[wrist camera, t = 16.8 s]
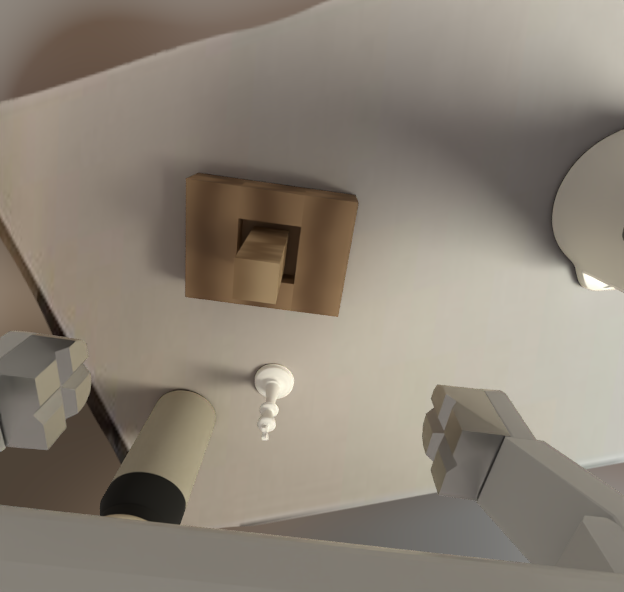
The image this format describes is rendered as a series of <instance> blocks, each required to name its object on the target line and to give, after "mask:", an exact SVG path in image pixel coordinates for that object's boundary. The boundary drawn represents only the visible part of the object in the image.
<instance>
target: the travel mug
mask: <svg viewBox="0 0 624 592" xmlns="http://www.w3.org/2000/svg"><path fill="white" fill-rule="evenodd" d="M215 422H216V414H215V411H214V409H213V407H212V405H211V404H210V403H209V402H208V401H207V400H206V399H205V398H204V397H202V396H200V395H199V394H196V393H194V392H190V391H184V390H178V391H172V392H169V393H167V394H165V395H163V396H162V397H161V398H160V399H159V400H158V402H157V403H156V405H155V407H154V409H153V410H152V412H151V414H150V416H149V417H148V419H147V421H146V423H145V424H144V426H143V428H142V430H141V431H140V433H139V435H138V437H137V438H136V440H135V442H134V444H133V445H132V447H131V449H130V451H129V452H128V454H127V456H126V458H125V459H124V461H123V463H122V465H121V466H120V468H119V470H118V472H117V473H116V475H115V477H114V479H113V481H112V482H111V484H110V486H109V487H108V489H107V491H106V493H105V494H104V496H103V498H102V500H101V503H100V516H105V517H114V518H123V519H132V520H141V521H150V522H159V523H168V524H178V525H180V523H181V520H182V517H183V514H184V512H185V509H186V506H187V503H188V500H189V497H190V494H191V491H192V488H193V486H194V483H195V480H196V477H197V474H198V471H199V468H200V465H201V462H202V460H203V457H204V454H205V451H206V448H207V445H208V442H209V439H210V436H211V434H212V431H213V428H214V425H215Z"/></svg>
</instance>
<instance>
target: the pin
mask: <svg viewBox="0 0 624 592" xmlns="http://www.w3.org/2000/svg"><path fill="white" fill-rule="evenodd" d="M288 236H289V231H287V230H280V229H272V228H265V227H258V226H254V227H253V229H252V230H251V232H250V233H249V235H248V237H247V238H246V240H245V242H244V243H243V245H242V247H241V248H240V250H239V251H238V253H237V255H236V256H235V261H234V278H233V296H232V299H240V300H247V301H255V302H263V303H270V304H276V300H277V296H278V292H279V288H280V284H281V280H282V275H283V271H284V267H285V263H286V254H287V245H288Z"/></svg>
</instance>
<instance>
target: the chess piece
mask: <svg viewBox="0 0 624 592" xmlns="http://www.w3.org/2000/svg"><path fill="white" fill-rule="evenodd" d="M293 385H294V378H293V375H292V373H291V372H290V371H289V370H288V369H287V368H286V367H284V366H282V365H278V364H268V365H265V366H263V367H261V368H260V369H259V370H258V371H257V373H256V375H255V387H256V389H257V390H258V392H259V393H260V394H261V395H263V396H265V397H266V402H265V403H263V404H262V405H261V406H260V413H261V415H262V416H261V417H260V418H259V420H258V422H257V426H258V428H259V429H260V430H261V431H262V440H268V432H270V431H272V430H274V428H275V426H276V422H275V419H274V417H275V416H276V415H277V413H278V407H277V405H276V404H275V402H276V399H279V398H283V397H285V396H286V395H288V394H289V393H290V392H291V390H292V388H293Z"/></svg>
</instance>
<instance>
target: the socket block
mask: <svg viewBox="0 0 624 592" xmlns="http://www.w3.org/2000/svg"><path fill="white" fill-rule="evenodd" d="M357 209H358V200H357V198H356V195H352V194H345V193H338V192H331V191H323V190H316V189H309V188H302V187H295V186H288V185H281V184H274V183H267V182H260V181H252V180H245V179H238V178H231V177H224V176H217V175H210V174H203V173H197V174H195V175H193V176H190V177H188V178H186V268H185V297H190V298H198V299H205V300H213V301H221V302H228V303H236V304H244V305H251V306H259V307H267V308H274V309H282V310H290V311H297V312H305V313H313V314H320V315H328V316H336V317H338V314H339V308H340V303H341V297H342V292H343V286H344V281H345V275H346V269H347V264H348V258H349V253H350V247H351V242H352V236H353V231H354V225H355V220H356V214H357ZM254 226H258V227H265V228H272V229H280V230H287V231H289V236H288V245H287V254H286V263H285V267H284V271H283V275H282V280H281V284H280V288H279V292H278V296H277V300H276V304H270V303H263V302H255V301H247V300H240V299H232V296H233V278H234V261H235V256H236V255H237V253H238V251H239V250H240V248H241V247H242V245H243V243H244V242H245V240H246V238H247V237H248V235H249V233H250V232H251V230H252V229H253V227H254Z"/></svg>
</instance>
